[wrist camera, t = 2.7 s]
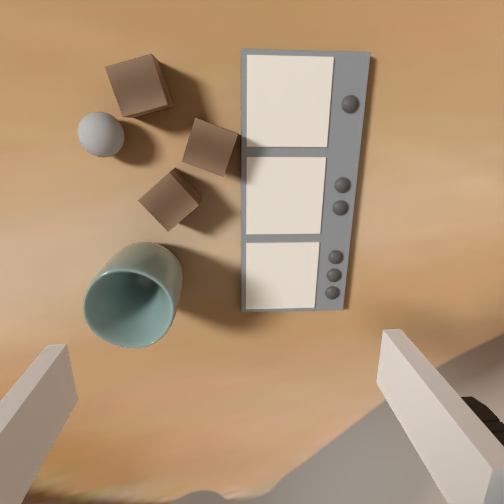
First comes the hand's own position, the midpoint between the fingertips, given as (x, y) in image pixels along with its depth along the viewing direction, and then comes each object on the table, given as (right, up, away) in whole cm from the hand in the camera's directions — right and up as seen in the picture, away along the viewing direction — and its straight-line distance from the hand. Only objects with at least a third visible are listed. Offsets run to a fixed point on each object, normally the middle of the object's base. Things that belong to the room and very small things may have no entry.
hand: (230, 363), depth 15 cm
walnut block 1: (-9, +20, +19) cm, 29 cm away
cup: (-10, +3, +25) cm, 27 cm away
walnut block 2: (-7, +11, +22) cm, 26 cm away
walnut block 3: (-3, +15, +21) cm, 26 cm away
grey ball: (-13, +16, +20) cm, 29 cm away
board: (+6, +11, +23) cm, 26 cm away
